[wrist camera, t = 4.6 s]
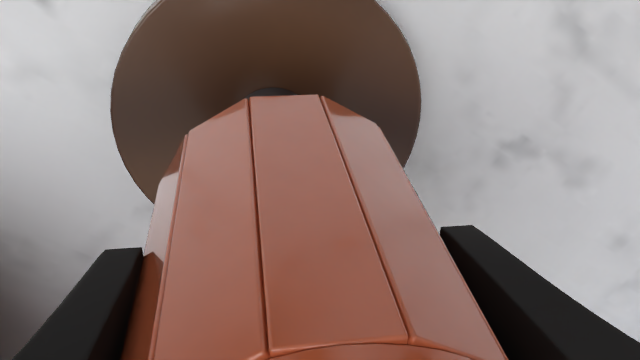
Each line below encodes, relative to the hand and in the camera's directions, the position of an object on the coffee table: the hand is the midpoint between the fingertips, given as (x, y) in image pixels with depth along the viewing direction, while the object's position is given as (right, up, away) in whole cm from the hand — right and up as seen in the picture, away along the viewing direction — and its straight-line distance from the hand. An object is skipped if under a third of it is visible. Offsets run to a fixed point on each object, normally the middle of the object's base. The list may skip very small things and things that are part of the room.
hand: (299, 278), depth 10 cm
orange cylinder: (0, +1, +2) cm, 2 cm away
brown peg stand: (-1, +4, +6) cm, 8 cm away
